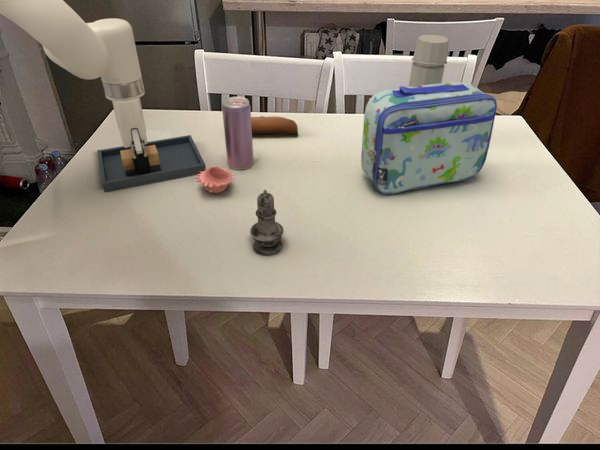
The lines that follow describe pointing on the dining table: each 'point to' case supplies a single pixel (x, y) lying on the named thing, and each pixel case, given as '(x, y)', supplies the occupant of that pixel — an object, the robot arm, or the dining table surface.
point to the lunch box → (426, 135)
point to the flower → (215, 179)
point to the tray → (174, 164)
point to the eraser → (128, 160)
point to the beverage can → (238, 132)
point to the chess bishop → (266, 227)
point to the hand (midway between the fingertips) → (141, 166)
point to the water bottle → (429, 60)
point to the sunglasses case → (273, 125)
